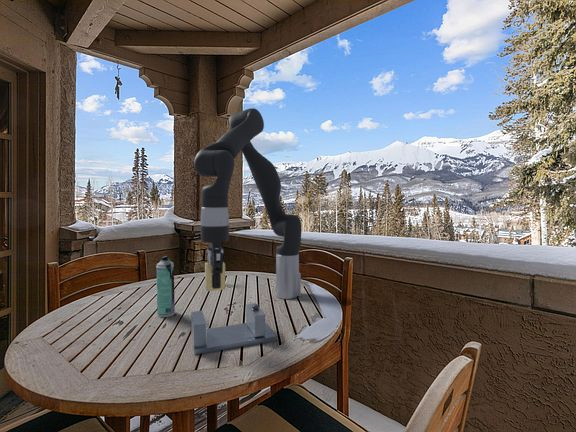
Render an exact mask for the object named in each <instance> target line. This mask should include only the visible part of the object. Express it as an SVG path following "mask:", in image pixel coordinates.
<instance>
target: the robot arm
mask: <svg viewBox="0 0 576 432" xmlns="http://www.w3.org/2000/svg"><path fill="white" fill-rule="evenodd" d="M228 123H229V127H230V130H228V131H226V132H225V133H224V134H222V136H220V138H218V139H217V141H216V142H213V143H211V144H210V145H208V146H206V147H204V148H202V149H200V150H199V151H198V152H197V153H196V155H195V157H194V161H193V168H194V170H195V172H196V173H197V174H198V175H199V176H201V177H205V178H206V177H207V178H208V177H209V178H211V177H213V178H215V177H217V178H216V180H215V181H214V183H212V184H209V185H205V186H202V189H201V193H200V194H201V198H200V199H201V203H200V204H201V210H200V241H201V242H202V243H209V246H208V247H207V248H206V253H207V262H208V263H209V264H210V266H211V267H212V272H211V274H212V288H213V289H216V288H220V287H221V273H222V272H223V262H224V256H225V255H224V248H223V247H222V245H221V244H222V243H225V242H228V241H229V239H230V218H229V217H230V215H229V195H228V194H229V189H230V184H231V182H232V181H231V180H232V177H233V173H234V170H235V159H236V158H237V156H238V155H239V154H240V153H242V154H243V156H244V159H245V161H246V163H247V166H248V167H249V168H248V169H250V172H251V175H252V178H253V181H254V184H255V186H256V188H257V190H258V192H259V194H260V196H261V199H262V202H263V204H264V206H265V207H264V208H265V210H266V213H267V216H268V219H269V224H270V226H271V230H272V231H273V233H274V234H275V235H276V236H278V237H282V238H283V243H282V244H280V245H278V246H277V247H276V249H275V260H276V261H275V270H276V271H275V276H276V277H275V279H276V283H275V284H276V285H275V293H276V294H275V295H276V297H277V298H278V299H283V300H291V299H292V298H293V299H296V298H295V297H297V296H299V297H301V296H300V295H302V294H301V293H302V292H301V289H302V288H301V287H302V285H301V284H302V283H301V282H302V277H301V275H302V274H301V272H300V260H299V259H300V249H301V245H302V231H303V230H302V221H301V219H300V217H299V216H298V215H296V214H286V213H285V212H284V210H283V208H282V204H281V201H280V199H281V191H282V181H281V179H280V176H279V174H278V170H277V168H276V166H275V165H274V164H273V163H272V162H271V161H270V160H269V159H268V158H267V157H265V156H264V155H262V154H261V153H260V152H259V151H258V150H257V148H255V146H254V145H253V143H252V139H254V138H255V137H256V136H258V135H259V134H261V133H262V132H263V131H264V128H265V122H264V118H263V115H262V113H261V112H260V110H258V109H257V108H253V107H251V108H250V107H249V108H247V109H244V110H242V111H239V112H236V113H234V114H231V115H230V117H229V118H228ZM216 266H219V269H215V267H216ZM297 298H298V297H297ZM293 299H292V300H293Z"/></svg>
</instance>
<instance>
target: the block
mask: <svg viewBox="0 0 576 432" xmlns="http://www.w3.org/2000/svg"><path fill="white" fill-rule="evenodd" d="M215 269H219V266H216V267H215ZM211 272H212V267H211V266H210V264H209V263H208V261H207V262H204V284H205V285H204V288H205V292H214V291H224V290H226V263H225V262H224V261H223V272H222V273H221V287H220V288H216V289H213V288H212V274H211Z"/></svg>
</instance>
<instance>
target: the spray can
mask: <svg viewBox="0 0 576 432" xmlns="http://www.w3.org/2000/svg"><path fill="white" fill-rule="evenodd" d="M156 293H157V294H156V297H157V298H156V302H157V303H156V305H157V308H156V310H157V317H159V318H168V317H172V316H174V315H175V310H176V309H175V306H176V305H175V304H176V303H175V301H176V300H175V265H174V262H172V261H171V260H170V259H169V256H168V255H164V256H162V258H161V260H160V261H159V262H158V263H156Z"/></svg>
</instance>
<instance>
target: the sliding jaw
mask: <svg viewBox="0 0 576 432" xmlns="http://www.w3.org/2000/svg"><path fill="white" fill-rule="evenodd" d="M245 306H246V307H245V308H246V312H245V313H246V319H245V321H246V322H245V323H246V324H247V325H248V327H249V328H250V330H251V332H252V333H253V335H254V337H259V336H265V322H266V313H265V312H264V311H263V310H262V308H261V307H260V305H259V304H258V303H257V302H252V303H246V304H245Z"/></svg>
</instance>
